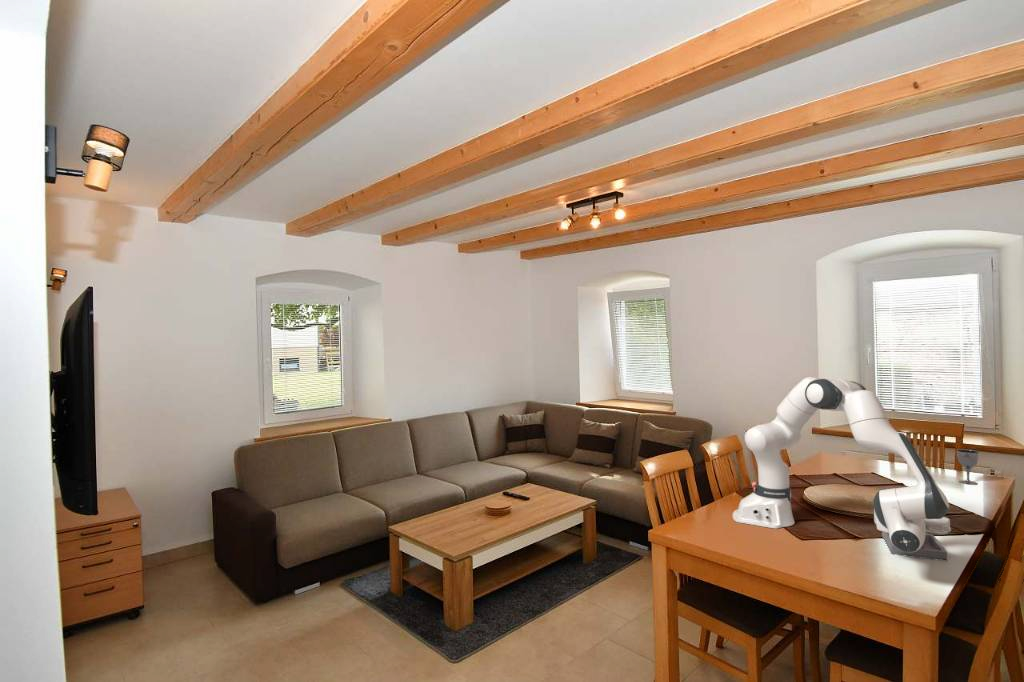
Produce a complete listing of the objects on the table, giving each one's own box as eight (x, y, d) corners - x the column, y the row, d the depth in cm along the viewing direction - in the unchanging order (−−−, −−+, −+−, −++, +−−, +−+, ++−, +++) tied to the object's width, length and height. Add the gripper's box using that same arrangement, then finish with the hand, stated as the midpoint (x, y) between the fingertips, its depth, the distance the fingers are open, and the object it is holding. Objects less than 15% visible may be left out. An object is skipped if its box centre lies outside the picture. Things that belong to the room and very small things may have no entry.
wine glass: (964, 485, 253) (963, 452, 253) (953, 480, 261) (953, 449, 261) (983, 485, 252) (983, 453, 252) (972, 480, 260) (971, 449, 259)
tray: (891, 554, 182) (891, 545, 182) (881, 536, 197) (881, 529, 197) (947, 560, 176) (946, 552, 176) (932, 542, 191) (932, 534, 191)
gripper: (950, 521, 166) (951, 509, 177) (871, 509, 179) (875, 498, 190) (951, 542, 166) (951, 528, 177) (871, 528, 179) (876, 516, 190)
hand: (911, 513), depth 183 cm, fingers open, 8 cm apart
